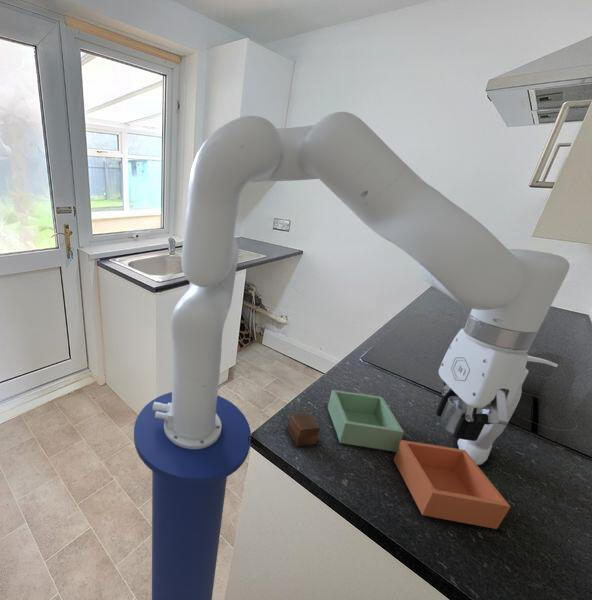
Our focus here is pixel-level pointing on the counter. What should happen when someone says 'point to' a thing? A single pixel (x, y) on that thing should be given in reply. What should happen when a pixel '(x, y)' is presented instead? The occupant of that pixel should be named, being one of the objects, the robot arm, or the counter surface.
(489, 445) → the soap bottle
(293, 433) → the walnut block
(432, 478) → the right bin
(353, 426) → the left bin
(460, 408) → the steel cylinder
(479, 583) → the counter surface
